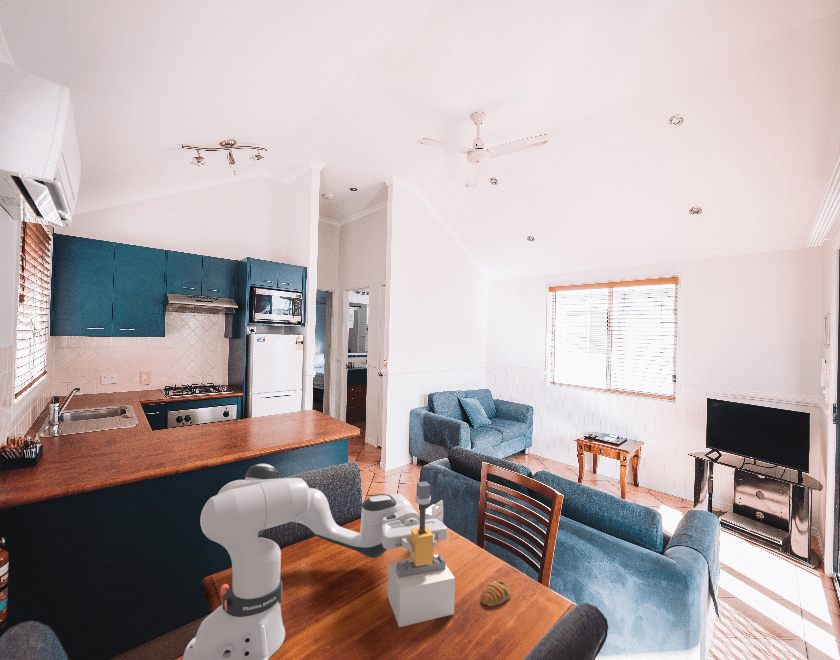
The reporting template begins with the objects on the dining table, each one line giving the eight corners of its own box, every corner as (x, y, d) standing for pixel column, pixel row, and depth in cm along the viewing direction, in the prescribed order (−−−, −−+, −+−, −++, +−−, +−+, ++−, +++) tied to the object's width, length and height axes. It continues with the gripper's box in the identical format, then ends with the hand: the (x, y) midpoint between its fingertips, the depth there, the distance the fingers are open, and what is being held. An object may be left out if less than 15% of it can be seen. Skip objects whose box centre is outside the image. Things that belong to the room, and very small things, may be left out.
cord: (416, 576, 105) (418, 487, 106) (411, 567, 110) (413, 481, 110) (430, 573, 107) (433, 486, 107) (425, 564, 111) (427, 480, 111)
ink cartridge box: (432, 533, 148) (433, 495, 148) (443, 537, 145) (444, 499, 145) (420, 543, 141) (421, 503, 141) (431, 547, 138) (432, 507, 138)
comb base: (399, 627, 100) (400, 579, 100) (387, 597, 111) (389, 554, 111) (454, 614, 105) (455, 568, 105) (437, 586, 116) (439, 545, 117)
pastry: (494, 613, 106) (494, 599, 106) (475, 600, 111) (475, 587, 111) (512, 597, 113) (512, 584, 113) (493, 586, 118) (493, 574, 118)
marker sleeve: (415, 566, 105) (416, 537, 105) (410, 556, 110) (411, 528, 110) (432, 563, 107) (433, 535, 107) (426, 553, 111) (427, 526, 112)
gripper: (437, 529, 124) (455, 552, 111) (377, 538, 117) (388, 564, 104) (438, 510, 124) (456, 531, 111) (377, 518, 117) (388, 541, 104)
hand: (422, 547), depth 107 cm, fingers closed on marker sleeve, 5 cm apart
